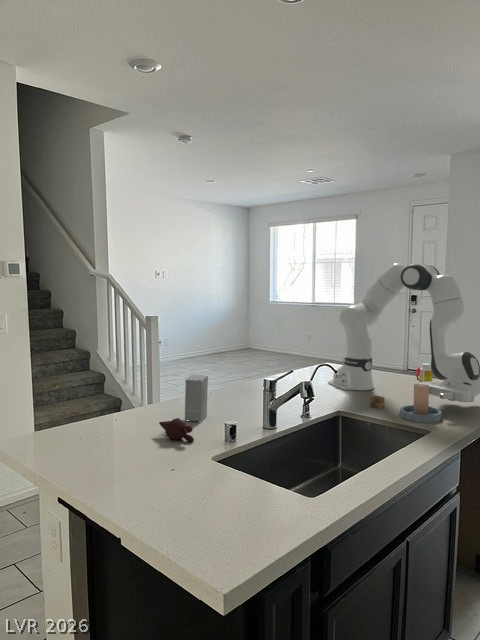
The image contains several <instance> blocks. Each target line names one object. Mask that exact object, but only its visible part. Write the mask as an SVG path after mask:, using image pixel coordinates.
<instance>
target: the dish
mask: <svg viewBox="0 0 480 640" xmlns="http://www.w3.org/2000/svg"><path fill="white" fill-rule="evenodd" d="M399 416H400V417H401V418H402V419H403V418H404V419H403V420H406V419H407V420H406V421H409V422H414V421H415V422H416V423H421V422H422V424H427V423H428V424H429V423H437V422H440V421H441V420H442V417H443V416H442V410H440V409H439V408H437V407H433V406H430V405H428V415H419V414H413V404H409V405H408V404H407V405H403V406H401V407H400V408H399ZM415 422H414V423H415Z"/></svg>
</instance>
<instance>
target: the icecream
mask: <svg viewBox="0 0 480 640" xmlns="http://www.w3.org/2000/svg"><path fill="white" fill-rule="evenodd" d="M158 424H159V425H160V426H161V427H162V429H163V430H164V431H165V434H166V437H167V438H168V439H169V440H176V441H177V440H178V439H180V440H182V439H184V440H185V441H186V442H189V443H191V442H192V443H193V442H194V441H195V439H194V437H193V436H192V435H191V434H190V433H192V432H193V427H192V425H187V424H186V423H185V420H184V421H183V420H181V419H180V418H179V417H178V418H173V419H172V420H166V421H160V422H158ZM189 434H190V435H189ZM171 438H172V439H171Z"/></svg>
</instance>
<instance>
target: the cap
mask: <svg viewBox="0 0 480 640" xmlns="http://www.w3.org/2000/svg"><path fill="white" fill-rule="evenodd" d="M421 367H422V366H418V368H417V369H416V373H415V376H416V379H417V380H419V376H420V368H421Z"/></svg>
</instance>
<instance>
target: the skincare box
mask: <svg viewBox="0 0 480 640" xmlns="http://www.w3.org/2000/svg"><path fill="white" fill-rule="evenodd" d="M208 381H209V375H204V374H195V373H194V374H191V375H190V376H188V377H187V378H186V379H185V395H184V397H185V399H184V400H185V401H184V402H185V403H184V404H185V405H184V421H185V420H189V421H202V420H203V421H204V419H205V418H206V417H207V416H208V387H209V386H208V385H209V382H208ZM189 421H188V422H189ZM203 421H202V422H203Z"/></svg>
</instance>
